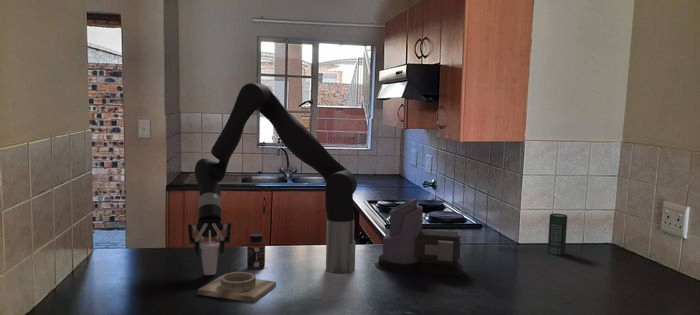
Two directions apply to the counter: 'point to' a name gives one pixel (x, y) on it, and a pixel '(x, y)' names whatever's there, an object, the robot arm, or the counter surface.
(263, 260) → the supplement bottle
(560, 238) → the can
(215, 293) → the socket board
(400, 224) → the juicer
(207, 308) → the counter surface
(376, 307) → the counter surface
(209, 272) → the smoothie
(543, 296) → the counter surface
